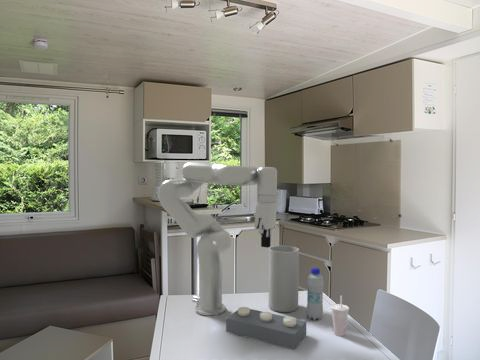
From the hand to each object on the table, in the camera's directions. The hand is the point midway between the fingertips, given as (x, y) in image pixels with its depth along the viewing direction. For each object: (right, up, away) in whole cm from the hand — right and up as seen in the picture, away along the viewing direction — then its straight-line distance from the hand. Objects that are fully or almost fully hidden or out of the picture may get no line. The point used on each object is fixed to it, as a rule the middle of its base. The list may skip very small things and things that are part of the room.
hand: (265, 246), depth 142 cm
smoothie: (+26, -30, -10) cm, 40 cm away
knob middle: (-1, -29, -10) cm, 30 cm away
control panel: (-1, -29, -10) cm, 31 cm away
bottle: (+20, -29, +4) cm, 35 cm away
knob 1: (-9, -28, -6) cm, 30 cm away
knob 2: (+7, -29, -14) cm, 33 cm away
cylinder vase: (+8, -29, +15) cm, 33 cm away
